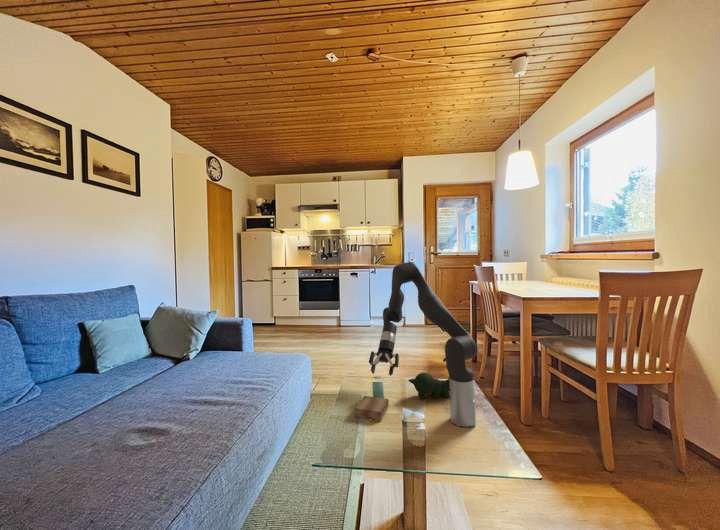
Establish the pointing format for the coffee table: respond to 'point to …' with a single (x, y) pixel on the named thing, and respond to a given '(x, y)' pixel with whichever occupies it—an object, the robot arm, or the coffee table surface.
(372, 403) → the walnut plinth
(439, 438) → the coffee table surface
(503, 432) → the coffee table surface
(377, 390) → the teal cylinder
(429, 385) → the toy figurine
